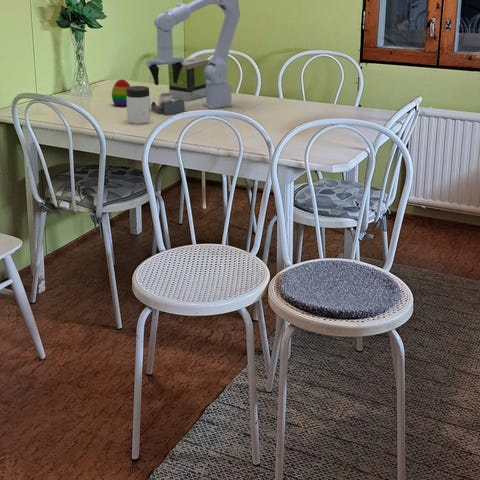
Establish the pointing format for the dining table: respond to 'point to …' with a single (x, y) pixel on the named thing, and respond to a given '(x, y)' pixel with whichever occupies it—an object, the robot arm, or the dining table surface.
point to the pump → (164, 98)
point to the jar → (138, 104)
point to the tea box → (189, 80)
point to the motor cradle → (169, 107)
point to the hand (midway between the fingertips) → (166, 83)
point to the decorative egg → (120, 93)
